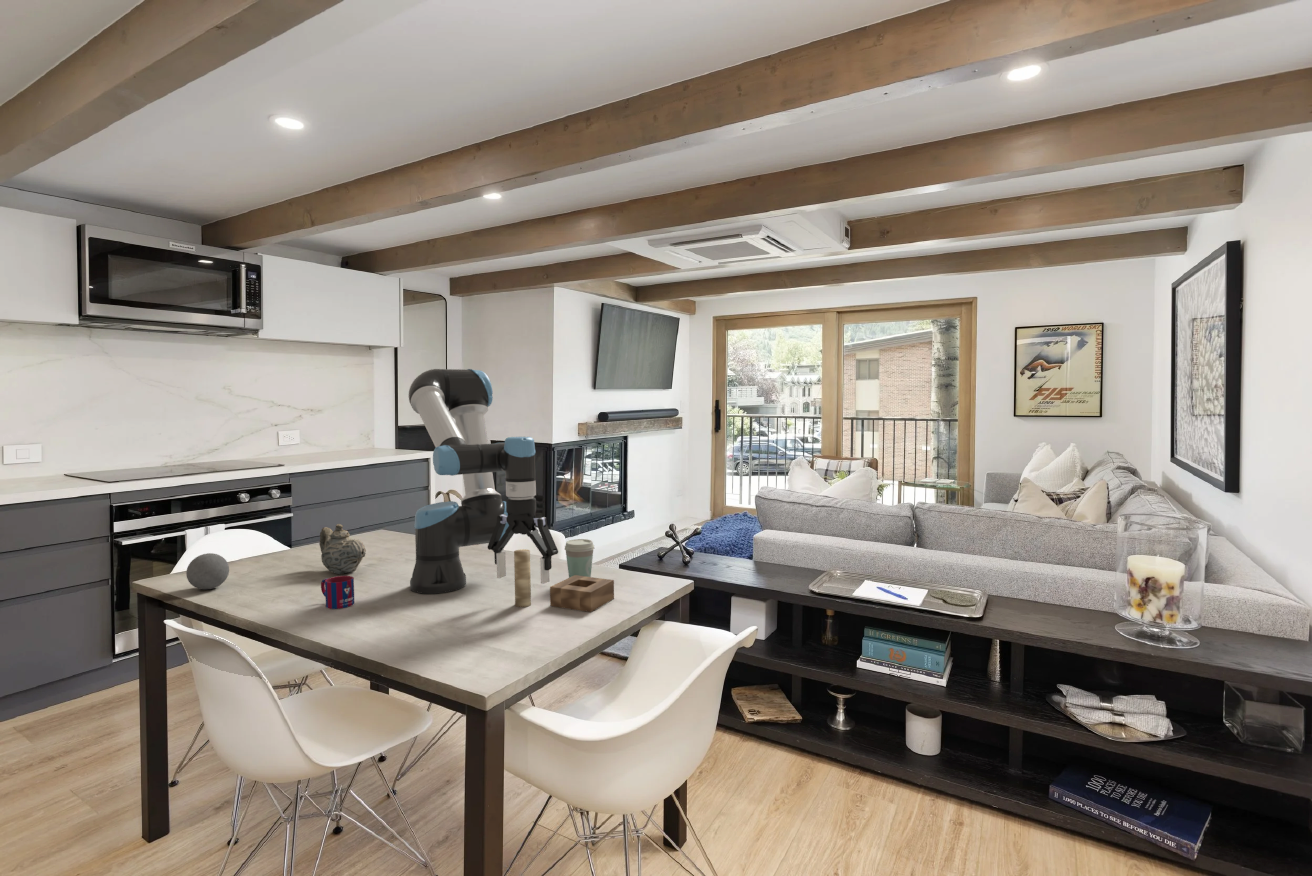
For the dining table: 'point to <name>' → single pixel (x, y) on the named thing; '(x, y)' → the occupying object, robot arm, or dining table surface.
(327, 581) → the cup
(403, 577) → the dining table surface
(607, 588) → the socket
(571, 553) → the coffee cup
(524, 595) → the peg
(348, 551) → the teapot
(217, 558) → the decorative ball
